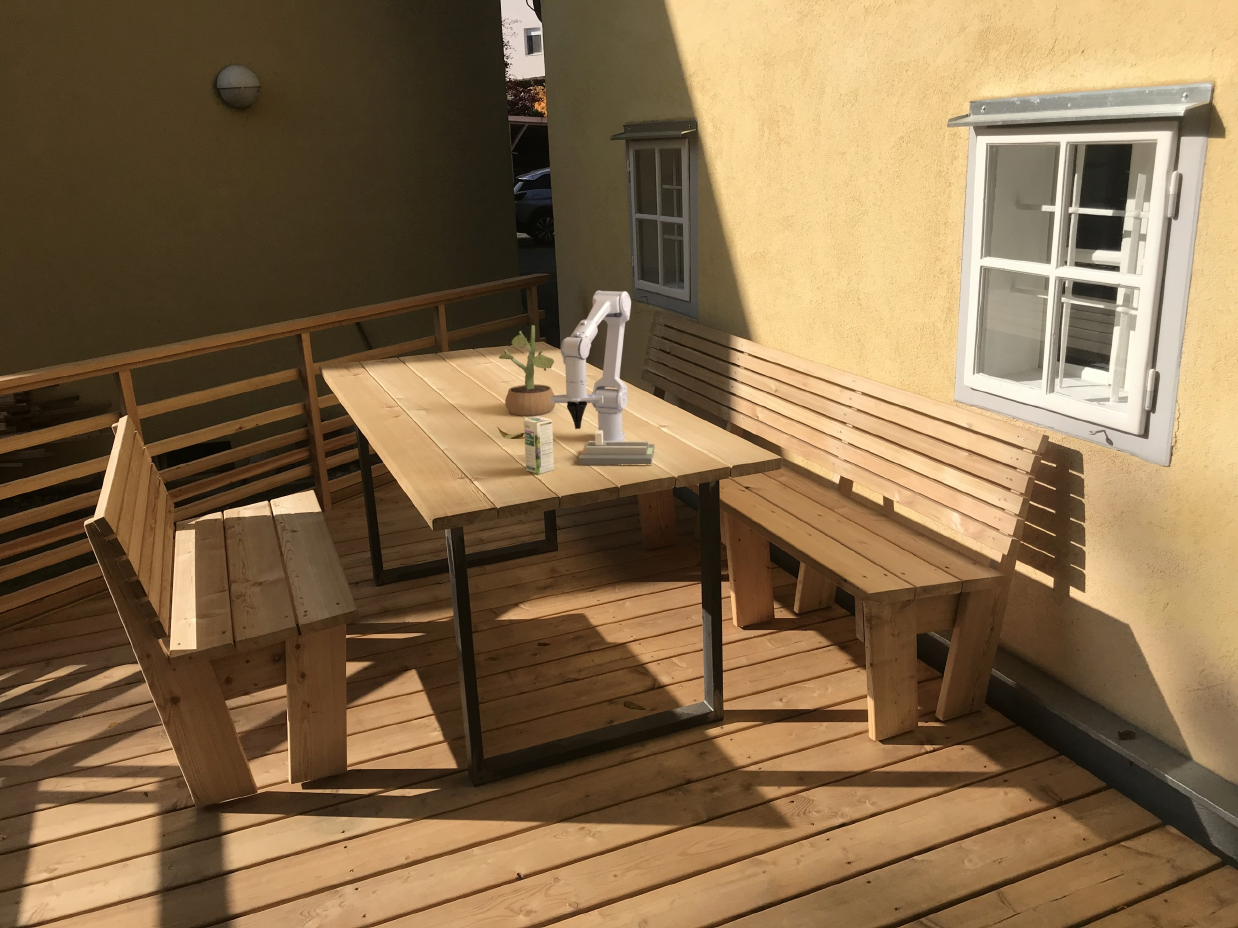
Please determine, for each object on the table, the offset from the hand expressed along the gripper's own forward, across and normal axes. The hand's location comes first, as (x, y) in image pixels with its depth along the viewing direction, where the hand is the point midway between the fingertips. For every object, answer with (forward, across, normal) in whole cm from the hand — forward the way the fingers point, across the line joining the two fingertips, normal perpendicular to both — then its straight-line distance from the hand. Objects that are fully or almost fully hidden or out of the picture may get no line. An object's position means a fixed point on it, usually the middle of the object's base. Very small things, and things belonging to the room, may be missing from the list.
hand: (578, 428), depth 277 cm
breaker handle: (+7, +6, 0) cm, 9 cm away
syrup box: (+9, -9, -12) cm, 17 cm away
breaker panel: (+9, +11, 0) cm, 14 cm away
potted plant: (+9, -23, +51) cm, 57 cm away
